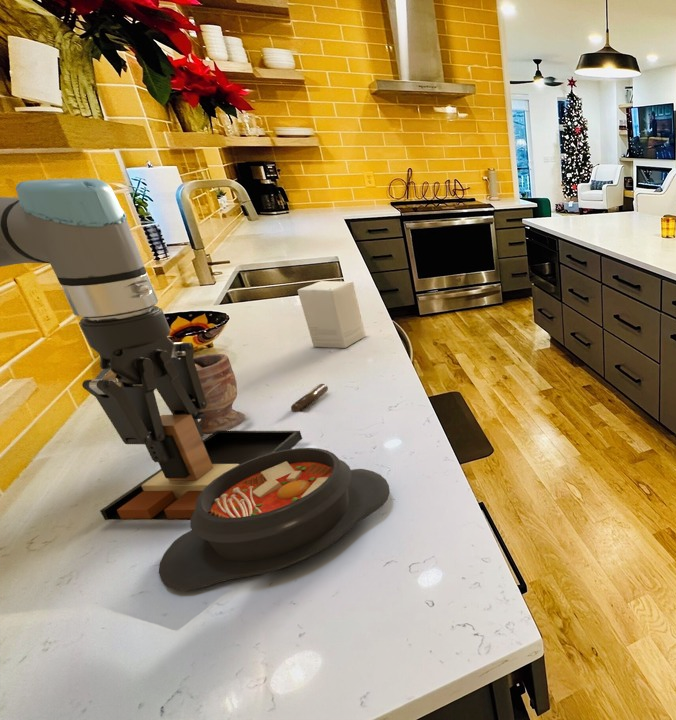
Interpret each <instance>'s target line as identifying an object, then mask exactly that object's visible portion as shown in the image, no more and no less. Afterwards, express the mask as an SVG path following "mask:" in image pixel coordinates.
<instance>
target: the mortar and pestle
mask: <svg viewBox="0 0 676 720" xmlns="http://www.w3.org/2000/svg"><path fill="white" fill-rule="evenodd" d="M193 359H194V363H195V366H196V369H197V373H198V376H199V379H200V382H201V386H202V389H203V392H204V396H205V399H206V402H207V406H206V408H205V409H201V410H200V411H199V412H204V417H203V418H202V419H199V420H198V422H199V424H200V427H201V429H202V431H203V435H211V434H213V433H214V432H216V431H230V430H231V429H233V428H235V427H238V426H239V425H241V424H242V423H244V421H245V420H246V416H245V414H244V413H242V412H240V411H237V410H236V409H233V405H234V402H235V400H236V399H237V397H238V382H237V378H236V376H235V373H234V370H233V368H232V364H231V361H230V358H229V356H228V355H227V354H224V353H218V352H217V353H204V354H199V355H198V354H197V355H193ZM192 401H195V399H192Z"/></svg>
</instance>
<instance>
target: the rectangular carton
mask: <svg viewBox="0 0 676 720" xmlns="http://www.w3.org/2000/svg"><path fill="white" fill-rule="evenodd" d="M296 291H297V294H298V297H299V298H298V299H299V300H300V304H301V305H300V306H301V308H302V312H303V314H304V318H305V321H306V325H307V329H308V331H309V335H310V339H311V342H312V346H313V347H314V348H339V349H346V348H347V347H349V346H351V345H353V344H355V343H357V342H358V341H360V340H362V339H363V338H365V337H366V336H367V333H366V330H365V327H364V326H365V325H364V322H363V317H362V313H361V309H360V306H359V302H358V296H357V292H356V289H355V285H354V281H336V280H335V281H330V280H321V281H317V282H314V283H313V284H309V285H307V286H303V287H300V288H299V289H297V290H296Z"/></svg>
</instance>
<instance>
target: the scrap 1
mask: <svg viewBox="0 0 676 720" xmlns="http://www.w3.org/2000/svg"><path fill="white" fill-rule="evenodd" d="M175 500H176V498H175V495H174V493H173V491H143V492H141V493H140V494H139V495H137V496H136V497H134V498H133V499H132V500H130V501H129V502H127V503H126V504H125V505H123V506H122V507H120V508H119V509H118V510H117V512H118V514H119V516H120V517H121V519H151V518H153V517H154V516H155V515H157V514H158V513H159V512H160V511H162V510H163V509H164V508H166V507H167V506H168V505H169V504H171V503H172V502H173V501H175Z"/></svg>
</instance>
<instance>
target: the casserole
mask: <svg viewBox="0 0 676 720" xmlns="http://www.w3.org/2000/svg"><path fill="white" fill-rule="evenodd" d="M389 496H390V486H389V483H388V482H387V479H386V478H384V476H382V475H381V474H379V473H378V472H375V471H374V470H369V469H366V468H354V469H351V467H350V466H349V464H347V463H346V461H344V460H342V459H340V458H339V457H338V456H337V455H336V454H334V453H333V452H332V451H329V450H327V449H322V448H317V447H298V448H291V449H288V450H283V451H278V452H274V453H270V454H267V455H263V456H260V457H257V458H255V459H252V460H249V461H247V462H245V463H242V464H240V465H238V466H236V467H234V468H232V469H230V470H229V471H227V472H225V473H223V474H222V475H220V476H219V477H217V478H216V479H215V480H213V481H212V482H211V483H210V484H209V485H208V486H206V487H205V488H204V490H203V491H202V492H201V493H200V495H199V496H198V499H197V501H196V509H195V510H194V512H193V514H192V517H191V520H189V521H190V523H189V527H190V529H191V530H189V531H187V532H185V533H183V534H182V535H180V536H179V537H178V538H176V539H175V540H174V541H173V542H172V543H171V544H170V545H169V547H168V548H167V549H166V550H165V552H164V553H163V556H162V558H161V560H160V562H159V567H158V575H159V578H160V581H161V582H162V583H163V584H164V585H165V586H166V587H167V588H168V589H169V588H170V589H173V590H175V591H193V590H198V589H200V588H204V587H208V586H212V585H215V584H218V583H222V582H225V581H229V580H235V579H241V578H246V577H251V576H258V575H262V574H267V573H270V572H274V571H277V570H281V569H285V568H287V567H289V566H292V565H295V564H297V563H299V562H302V561H304V560H306V559H308V558H310V557H312V556H314V555H316V554H318V553H320V552H322V551H324V549H326V548H328V547H329V546H330V545H332V544H334V543H335V542H337V541H338V540H339V539H340V538H341V537H343V536H344V535H345V534H346V533H347V532H348V531H350V530H351V529H352V528H354V527H355V526H356V525H357V524H358V523H359V522H361V521H362V520H364V519H366V518H368V517H369V516H370V515H372V514H373V513H374V512H376V511H378V510H379V509H380V508H382V507H383V506H384V504H385V503H386V502H387V501H388V499H389Z"/></svg>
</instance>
